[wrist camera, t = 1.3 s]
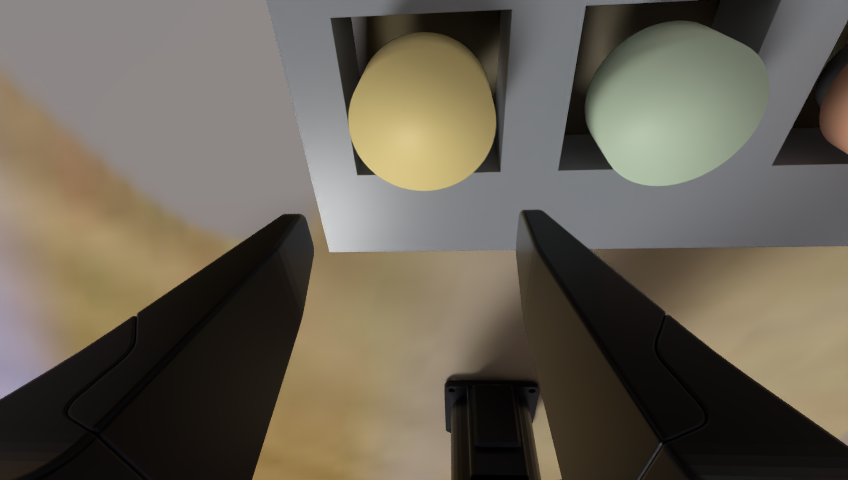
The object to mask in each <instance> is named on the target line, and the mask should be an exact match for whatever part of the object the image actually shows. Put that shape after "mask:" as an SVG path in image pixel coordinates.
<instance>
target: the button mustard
mask: <svg viewBox="0 0 848 480" xmlns="http://www.w3.org/2000/svg"><path fill="white" fill-rule="evenodd" d="M348 123H349V131H350V136H351V140H352V142H353V145H354V147H355V149H356V151H357V153H358V155H359V156H360V158H361V159H362V161H363V162H364V163H365V164H366V166H367V167H368V168H369V169H370V170H371V171H372V172H374V173H375V174H376V175H377V176H379V177H380V178H382V179H383V180H385V181H387V182H389V183H391V184H393V185H395V186H398V187H401V188H405V189H409V190H416V191H432V190H438V189H443V188H446V187H449V186H452V185H454V184H457V183H459V182H460V181H462V180H464V179H465V178H467V177H468V176H469V175H471V174H472V173H473V172H474V171H475V170H476V169H477V168H478V167H479V166H480V165H481V164H482V162H483V161H484V160H485V158H486V156H487V155H488V153H489V151H490V149H491V146H492V144H493V140H494V137H495V131H496V113H495V107H494V103H493V98H492V94H491V90H490V86H489V82H488V79H487V75H486V73H485V71H484V69H483V67H482V65H481V63H480V62H479V60H478V59H477V58H476V56H475V55H474V54H473V53H472V52H471V51H470V50H469V49H468V48H467V47H466V46H464V45H463V44H461V43H460V42H458V41H457V40H454V39H452V38H450V37H448V36H445V35H442V34H438V33H432V32H417V33H410V34H406V35H403V36H400V37H398V38H396V39H393V40H392V41H390V42H388V43H387V44H385V45H384V46H383V47H382V48H381V49H379V50H378V51H377V52H376V54H375V55H374V56H373V57H372V58H371V60H370V61H369V63H368V65H367V67H366V69H365V71H364V73H363V75H362V77H361V79H360V81H359V83H358V85H357V87H356V89H355V91H354V93H353V96H352V99H351V102H350V107H349V117H348Z"/></svg>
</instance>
